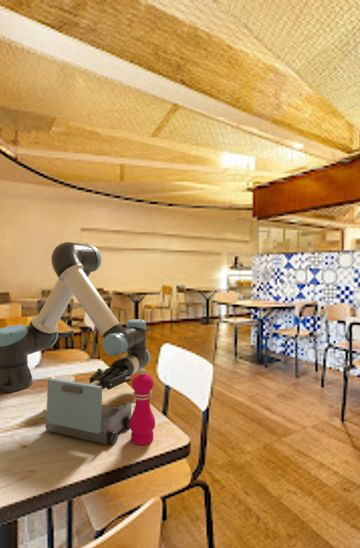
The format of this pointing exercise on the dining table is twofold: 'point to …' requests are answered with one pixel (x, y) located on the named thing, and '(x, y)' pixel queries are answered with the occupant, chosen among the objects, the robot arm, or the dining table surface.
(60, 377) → the white cup
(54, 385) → the panel
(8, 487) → the dining table surface
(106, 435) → the cart bed
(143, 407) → the pepper mill
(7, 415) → the dining table surface
